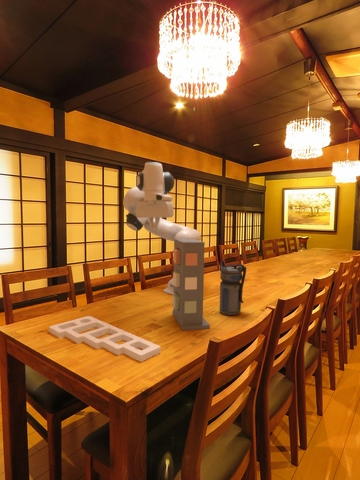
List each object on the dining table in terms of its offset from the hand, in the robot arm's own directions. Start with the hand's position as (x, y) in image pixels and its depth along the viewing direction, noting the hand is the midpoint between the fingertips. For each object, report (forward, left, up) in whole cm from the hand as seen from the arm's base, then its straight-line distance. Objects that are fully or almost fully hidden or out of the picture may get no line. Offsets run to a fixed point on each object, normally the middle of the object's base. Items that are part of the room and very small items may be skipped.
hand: (154, 227), depth 137 cm
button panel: (+18, +5, -41) cm, 45 cm away
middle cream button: (+15, +1, -25) cm, 29 cm away
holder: (+6, -35, -42) cm, 55 cm away
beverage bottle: (+28, +26, -41) cm, 56 cm away
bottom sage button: (+15, +1, -35) cm, 38 cm away
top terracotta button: (+15, +1, -15) cm, 21 cm away
